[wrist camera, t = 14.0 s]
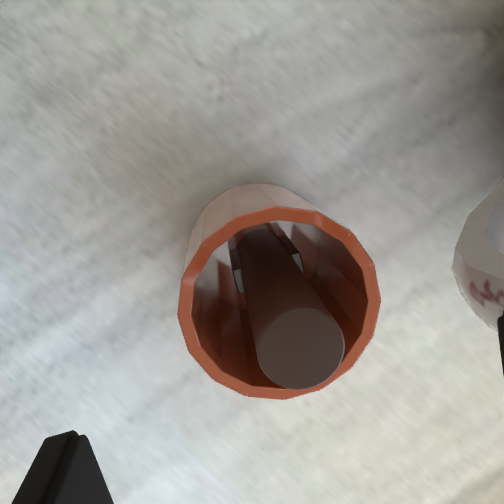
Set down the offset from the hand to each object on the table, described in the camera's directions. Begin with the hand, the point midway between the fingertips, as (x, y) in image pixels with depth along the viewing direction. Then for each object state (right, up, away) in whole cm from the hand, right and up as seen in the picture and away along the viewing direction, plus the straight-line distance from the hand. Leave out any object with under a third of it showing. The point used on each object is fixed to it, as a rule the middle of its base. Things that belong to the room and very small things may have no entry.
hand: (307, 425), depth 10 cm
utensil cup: (-1, +4, +16) cm, 16 cm away
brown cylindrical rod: (-1, +4, +15) cm, 16 cm away
